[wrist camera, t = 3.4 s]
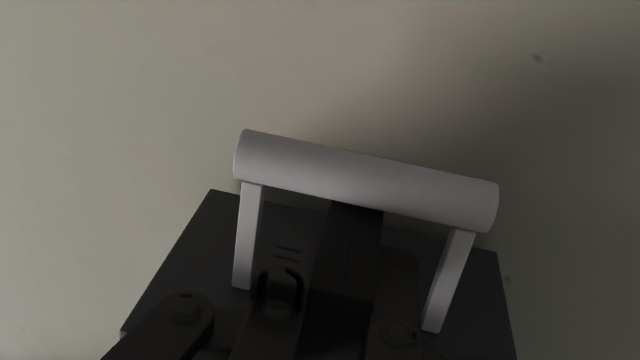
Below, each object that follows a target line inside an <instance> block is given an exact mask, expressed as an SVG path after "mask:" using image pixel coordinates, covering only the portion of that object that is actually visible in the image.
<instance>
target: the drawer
mask: <svg viewBox="0 0 640 360" xmlns="http://www.w3.org/2000/svg"><path fill="white" fill-rule="evenodd" d="M233 176H234V178H236V179H240V180H243V181H242V185H241V195H237V194H232V193H228V192H223V191H219V190H214V189H210V190H209V192H208V194H207V195H206V197H205V198H204V200H203V201H202V203H201V204H200V206H199V208H198V209H197V211H196V212H195V214H194V215H193V217H192V218H191V220H190V222H189V223H188V225H187V226H186V228H185V229H184V231H183V233H182V234H181V236H180V237H179V239H178V240H177V242H176V243H175V245H174V247H173V248H172V250H171V251H170V253H169V254H168V256H167V257H166V259H165V261H164V262H163V264H162V265H161V267H160V268H159V270H158V271H157V273H156V275H155V276H154V278H153V279H152V281H151V282H150V284H149V285H148V287H147V289H146V290H145V292H144V293H143V295H142V296H141V298H140V299H139V301H138V303H137V304H136V306H135V307H134V309H133V310H132V312H131V313H130V315H129V317H128V318H127V320H126V321H125V323H124V324H123V326H122V327H121V329H120V340H121V339H122V338H123V337H124V336H125V335H126V334H127V333H128V332H129V331H130V330H131V329H132V328H133V327H134V326H135V325H136V324H137V323H138V322H139V321H140V320H141V319H142V318H143V317H144V316H145V315H146V314H147V313H148V312H149V311H150V310H151V309H152V308H153V307H154V306H155V305H156V304H157V303H158V302H160V301H161V300H162V299H163V298H165V297H166V296H168V295H169V294H172V293H175V292H179V291H194V292H198V293H201V294H203V295H205V296H206V297H208V298H209V299H210V300H211V301H212V303H213V305H214V307H230V306H237V305H240V304H244V303H246V302H248V301H249V300H250V298H251V290H252V282H253V275H254V274H255V272H256V271H257V270H258V269H259V268H261V267H263V266H265V265H267V264H269V262H270V259H271V257H272V254H273V251H274V249H275V247H276V243H277V241H278V238H279V235H280V233H282V232H283V231H284V230H285V229H287V228H288V227H289V226H290V225H293V226H298V227H302V228H307V229H311V230H316V231H320V232H324V228H325V225H326V221H327V217H328V215H327V214H322V213H318V212H313V211H309V210H304V209H300V208H295V207H291V206H286V205H282V204H277V203H273V202H268V201H264V197H265V189H266V185H267V186H272V187H276V188H281V189H285V190H290V191H295V192H299V193H304V194H308V195H313V196H317V197H322V198H326V199H331V200H335V201H340V202H344V203H349V204H353V205H358V206H363V207H367V208H372V209H376V210H381V211H385V212H390V213H394V214H399V215H403V216H408V217H412V218H417V219H422V220H426V221H431V222H435V223H440V224H444V225H449V226H452V227H451V230H450V233H449V236H448V238H447V241H444V240H439V239H435V238H430V237H426V236H421V235H417V234H412V233H408V232H403V231H399V230H394V229H390V228H385V227H382V234H381V244H384V245H389V246H393V247H398V248H402V249H407V250H411V251H412V252H413V254H414V255H415V257H416V259H417V261H418V263H419V329H420V331H421V332H422V334H423V338H424V340H425V341H426V343H427V344H428V345H429V346H430V347H431V348H433V349H434V350H435V351H437V352H438V353H440V354H441V355H443V356H445V357H447V358H449V359H451V360H460V359H461V358H463V357H464V356H472V355H476V356H481V357H485V358H487V359H490V360H517V356H516V351H515V346H514V340H513V335H512V330H511V325H510V320H509V314H508V309H507V304H506V299H505V293H504V288H503V283H502V278H501V273H500V267H499V262H498V257H497V253H496V252H493V251H489V250H484V249H480V248H475V247H472V244H473V242H474V239H475V236H476V232H480V233H487V232H488V231H489V230H490V229H491V227H492V225H493V223H494V220H495V217H496V214H497V210H498V205H499V196H500V192H499V186H498V184H497V183H495V182H491V181H486V180H482V179H477V178H472V177H468V176H463V175H458V174H454V173H449V172H445V171H440V170H435V169H431V168H426V167H421V166H417V165H412V164H407V163H403V162H398V161H393V160H389V159H384V158H379V157H375V156H370V155H366V154H361V153H356V152H352V151H347V150H342V149H338V148H333V147H328V146H324V145H319V144H314V143H310V142H305V141H300V140H296V139H291V138H287V137H282V136H277V135H273V134H268V133H263V132H259V131H254V130H249V129H244V130H243V131H242V133H241V135H240V137H239V139H238V142H237V145H236V149H235V153H234V159H233Z"/></svg>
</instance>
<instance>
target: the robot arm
mask: <svg viewBox="0 0 640 360" xmlns="http://www.w3.org/2000/svg"><path fill="white" fill-rule="evenodd" d="M383 215H384V211H381V210H376V209H372V208H367V207H363V206H358V205H353V204H349V203H344V202H340V201H335V200H332V202H331V206H330V209H329V213H328V217H327V221H326V225H325V228H324V232H320V231H316V230H311V229H307V228H302V227H298V226H293V225H290V226H289V227H288V228H287V229H285V230H284V231H283V232H282V233H280V235H279V238H278V241H277V243H276V247H275V249H274V251H273V254H272V257H271V259H270V262H269V264H267V265H265V266H263V267H261V268H259V269H258V270H257V271H256V272H255V274H254V275H253V282H252V290H251V298H250V300H249V301H248V302H246V303H244V304H240V305H237V306H230V307H214V305H213V303H212V301H211V300H210V299H209V298H208V297H206V296H205V295H203V294H201V293H198V292H194V291H179V292H175V293H172V294H169V295H168V296H166V297H165V298H163V299H162V300H161V301H160V302H158V303H157V304H156V305H155V306H154V307H153V308H152V309H151V310H150V311H149V312H148V313H147V314H146V315H145V316H144V317H143V318H142V319H141V320H140V321H139V322H138V323H137V324H136V325H135V326H134V327H133V328H132V329H131V330H130V331H129V332H128V333H127V334H126V335H125V336H124V337H123V338H122V339H121V340H120V341H119V342H118V343H117V344H116V345H115V346H113V347H112V348H111V349H110V350H109V351H108V352H107V353H106V354H105V355H104V356H103V357H102V358H101V359H100V360H451V359H449V358H447V357H445V356H443V355H441V354H440V353H438V352H437V351H435V350H434V349H433V348H431V347H430V346H429V345H428V344H427V343H426V341H425V340H424V338H423V334H422V332H421V331H420V329H419V263H418V261H417V259H416V257H415V255H414V254H413V252H412V251H411V250H407V249H402V248H398V247H393V246H389V245H384V244H381V234H382V224H383ZM460 360H490V359H487V358H485V357H481V356H476V355H472V356H464V357H463V358H461V359H460Z"/></svg>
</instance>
